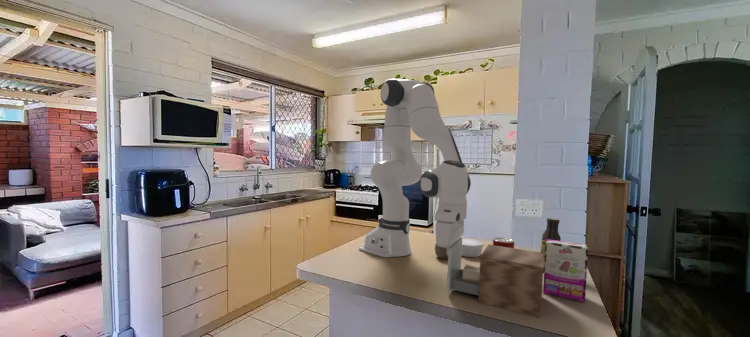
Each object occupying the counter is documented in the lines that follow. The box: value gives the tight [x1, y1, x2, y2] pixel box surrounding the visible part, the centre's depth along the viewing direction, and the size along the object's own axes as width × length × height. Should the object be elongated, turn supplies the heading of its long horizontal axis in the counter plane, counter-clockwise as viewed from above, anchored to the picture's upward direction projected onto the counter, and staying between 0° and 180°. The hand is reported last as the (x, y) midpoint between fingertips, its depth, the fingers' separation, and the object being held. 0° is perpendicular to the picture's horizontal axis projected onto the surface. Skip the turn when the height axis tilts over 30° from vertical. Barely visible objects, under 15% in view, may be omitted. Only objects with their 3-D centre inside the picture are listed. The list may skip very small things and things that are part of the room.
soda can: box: [492, 236, 515, 248], centre depth 117 cm, size 7×7×12 cm
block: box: [462, 264, 480, 285], centre depth 100 cm, size 5×5×5 cm
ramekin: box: [456, 238, 484, 258], centre depth 137 cm, size 11×11×5 cm
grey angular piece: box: [446, 237, 479, 297], centre depth 99 cm, size 15×14×13 cm
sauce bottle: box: [539, 217, 562, 272], centre depth 119 cm, size 6×6×20 cm
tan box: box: [477, 244, 544, 318], centre depth 95 cm, size 16×14×14 cm
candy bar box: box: [542, 239, 589, 303], centre depth 99 cm, size 11×5×16 cm, turn 58°
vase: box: [434, 242, 448, 260], centre depth 131 cm, size 7×7×9 cm
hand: (450, 254), depth 103 cm, fingers closed
